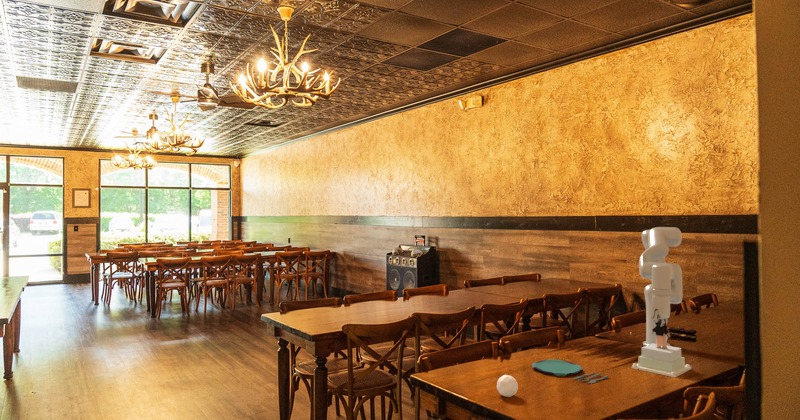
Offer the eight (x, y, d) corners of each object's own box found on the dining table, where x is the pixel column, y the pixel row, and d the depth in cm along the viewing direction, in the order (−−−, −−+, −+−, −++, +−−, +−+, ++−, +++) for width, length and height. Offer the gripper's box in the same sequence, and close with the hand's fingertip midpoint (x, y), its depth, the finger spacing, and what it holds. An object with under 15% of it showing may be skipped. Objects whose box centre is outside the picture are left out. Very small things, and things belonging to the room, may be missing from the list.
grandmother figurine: (669, 347, 229) (669, 318, 230) (670, 349, 225) (671, 319, 226) (650, 345, 232) (650, 317, 232) (650, 347, 228) (651, 318, 229)
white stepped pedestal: (649, 360, 241) (648, 340, 241) (691, 369, 228) (691, 348, 228) (631, 368, 229) (631, 347, 229) (675, 377, 216) (675, 355, 216)
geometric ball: (502, 404, 192) (489, 386, 193) (509, 390, 199) (496, 373, 199) (518, 398, 188) (504, 380, 188) (525, 384, 194) (511, 367, 194)
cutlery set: (552, 361, 240) (553, 356, 240) (612, 379, 216) (612, 373, 216) (523, 369, 228) (523, 364, 228) (583, 389, 204) (583, 383, 204)
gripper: (659, 290, 237) (660, 330, 237) (644, 293, 226) (644, 336, 226) (677, 291, 232) (677, 333, 231) (662, 295, 221) (662, 339, 220)
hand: (661, 334), depth 229 cm, fingers open, 3 cm apart
